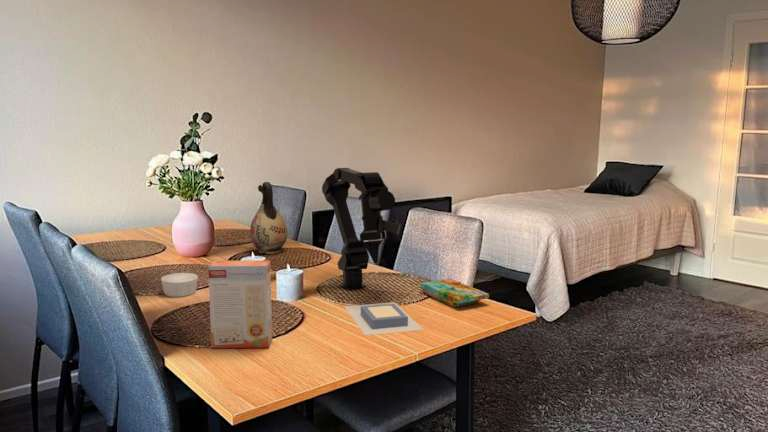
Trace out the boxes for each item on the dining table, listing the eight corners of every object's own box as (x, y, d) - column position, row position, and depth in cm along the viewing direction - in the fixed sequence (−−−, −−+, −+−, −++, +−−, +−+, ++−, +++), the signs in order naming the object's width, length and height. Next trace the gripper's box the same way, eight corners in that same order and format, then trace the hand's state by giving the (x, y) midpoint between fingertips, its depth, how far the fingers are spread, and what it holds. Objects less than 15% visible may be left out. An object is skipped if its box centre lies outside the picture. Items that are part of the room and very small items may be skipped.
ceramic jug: (246, 249, 245) (244, 179, 240) (282, 246, 252) (281, 178, 247) (255, 258, 230) (253, 183, 225) (293, 255, 237) (292, 182, 232)
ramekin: (186, 299, 177) (186, 283, 177) (154, 297, 180) (153, 280, 179) (205, 289, 188) (204, 273, 187) (174, 287, 190) (173, 271, 190)
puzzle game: (449, 275, 192) (489, 291, 175) (448, 289, 193) (488, 306, 176) (420, 280, 186) (458, 297, 169) (419, 294, 187) (458, 312, 170)
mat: (343, 307, 172) (343, 306, 172) (394, 303, 176) (394, 302, 176) (365, 336, 149) (365, 335, 149) (423, 330, 154) (423, 329, 154)
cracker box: (272, 339, 146) (271, 259, 143) (268, 349, 140) (267, 265, 137) (216, 339, 146) (214, 259, 142) (210, 349, 140) (207, 265, 136)
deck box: (360, 306, 164) (372, 320, 153) (394, 303, 167) (407, 317, 156) (360, 314, 165) (372, 329, 153) (393, 311, 168) (407, 325, 156)
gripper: (395, 209, 168) (400, 262, 167) (399, 211, 186) (404, 259, 186) (357, 212, 169) (362, 266, 168) (365, 214, 187) (369, 262, 187)
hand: (376, 263), depth 177 cm, fingers closed
